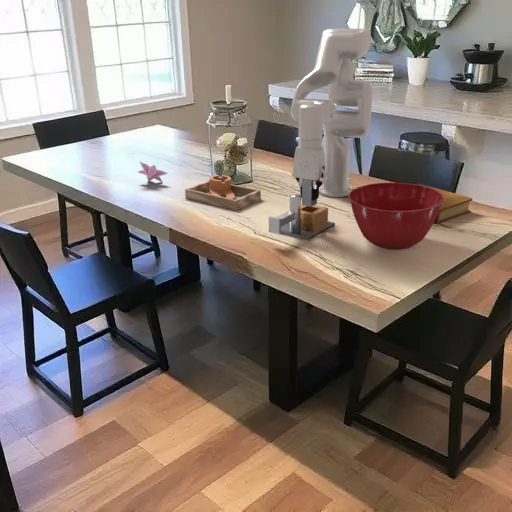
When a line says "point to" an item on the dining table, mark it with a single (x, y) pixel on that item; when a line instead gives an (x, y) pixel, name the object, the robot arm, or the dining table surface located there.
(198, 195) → the wooden tray
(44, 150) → the dining table surface
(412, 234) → the mixing bowl
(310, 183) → the grey rectangular block
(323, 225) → the grey stepped fixture
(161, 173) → the lily
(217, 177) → the bracket
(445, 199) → the diary
